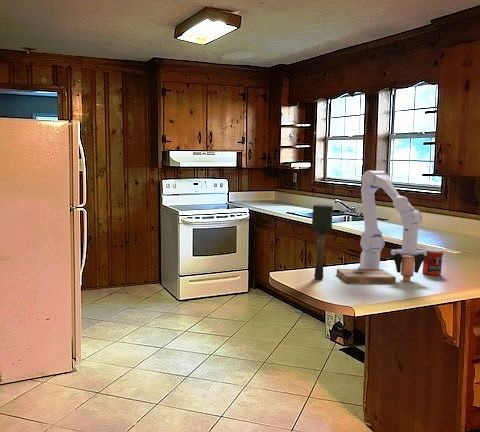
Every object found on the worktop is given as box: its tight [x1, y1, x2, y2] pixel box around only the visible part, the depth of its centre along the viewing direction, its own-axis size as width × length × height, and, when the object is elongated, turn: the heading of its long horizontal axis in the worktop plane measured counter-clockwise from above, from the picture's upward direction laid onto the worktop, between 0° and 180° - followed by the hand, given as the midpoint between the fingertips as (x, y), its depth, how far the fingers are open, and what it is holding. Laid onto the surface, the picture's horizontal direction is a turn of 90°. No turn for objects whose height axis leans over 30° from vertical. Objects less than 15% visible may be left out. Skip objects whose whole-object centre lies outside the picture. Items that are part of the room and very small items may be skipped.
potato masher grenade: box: [310, 204, 334, 281], centre depth 211 cm, size 8×9×30 cm
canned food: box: [422, 247, 444, 277], centre depth 230 cm, size 8×8×11 cm
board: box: [336, 268, 397, 284], centre depth 216 cm, size 14×20×2 cm
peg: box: [400, 255, 415, 282], centre depth 216 cm, size 5×5×10 cm
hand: (407, 272), depth 216 cm, fingers open, 7 cm apart
